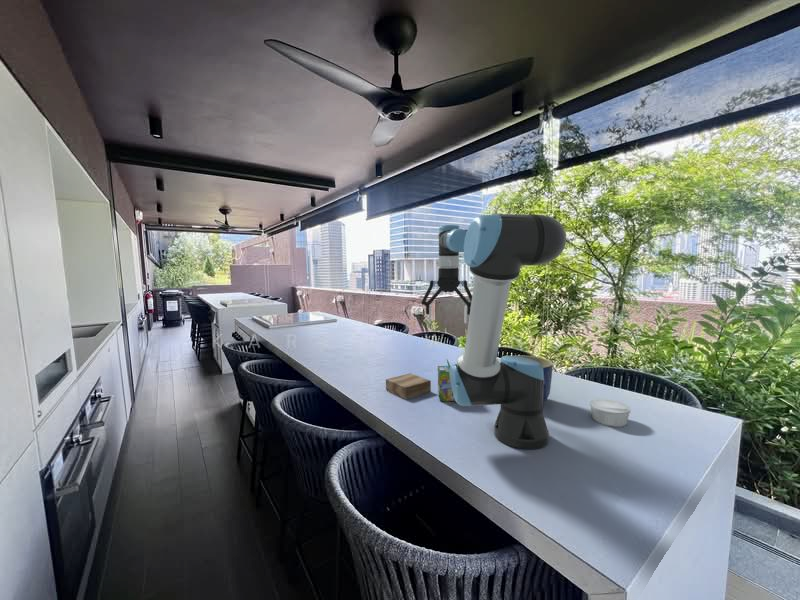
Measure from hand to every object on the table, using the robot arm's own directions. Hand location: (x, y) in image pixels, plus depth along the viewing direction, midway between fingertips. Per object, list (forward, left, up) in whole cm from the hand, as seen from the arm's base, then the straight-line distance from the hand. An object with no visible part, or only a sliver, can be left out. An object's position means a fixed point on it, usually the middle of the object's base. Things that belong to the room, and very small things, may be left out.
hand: (447, 322), depth 132 cm
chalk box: (-2, 0, -29) cm, 29 cm away
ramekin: (-49, -24, -29) cm, 61 cm away
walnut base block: (+14, +8, -29) cm, 34 cm away
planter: (-23, -19, -29) cm, 41 cm away
